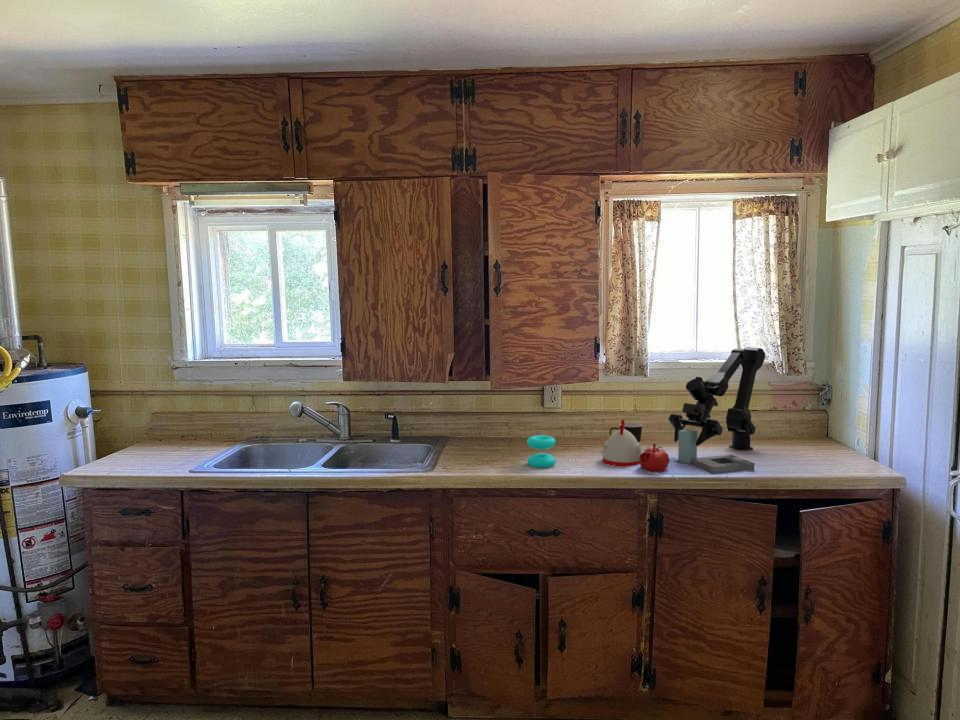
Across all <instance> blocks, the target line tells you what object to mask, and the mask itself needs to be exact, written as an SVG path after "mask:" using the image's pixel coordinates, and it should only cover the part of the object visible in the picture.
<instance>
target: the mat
mask: <svg viewBox="0 0 960 720" xmlns="http://www.w3.org/2000/svg"><path fill="white" fill-rule="evenodd" d="M673 462H675V463H678V464H679V463H680V464H685V465H689V466H693V465H692V463H690V464H689V463H684V462H679V461H678V459H676V460H673Z"/></svg>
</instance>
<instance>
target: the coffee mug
mask: <svg viewBox="0 0 960 720" xmlns="http://www.w3.org/2000/svg"><path fill="white" fill-rule="evenodd" d="M619 429H621V423H619V426H618V427H611V428H610V429H609V435H610V436H611V435H612V434H613V433H612V430H616V431H617V430H619ZM625 430H627V431H629V432H630V433H631V434H632V435H633V436H634V437H635V438H636V440H637V442H638V443H639V442H640V443H641V441H642V440H641V439H642V434H643V433H642V431H643V424H641V423H638V422H625Z"/></svg>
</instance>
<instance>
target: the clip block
mask: <svg viewBox="0 0 960 720" xmlns="http://www.w3.org/2000/svg"><path fill="white" fill-rule="evenodd" d="M683 429H684V430H680V431H679V439H678V445H677V446H678V451H677V452H678V455H677V456H678V457H677V460H678V461H679V462H684V463H689V464H690V463H692V458H698V457H697V456H698V452H697V451H698V446H696V442H697V439H698V430H695V429H688V428H683Z"/></svg>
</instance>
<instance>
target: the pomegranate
mask: <svg viewBox="0 0 960 720" xmlns="http://www.w3.org/2000/svg"><path fill="white" fill-rule="evenodd" d="M656 446H657V443H653V444H652V448H651V447H650V446H647V448H645V449H644V450H643V451H642V454H641V455H640V456H639V461H640V464H639V465H640V467H641V468H642V470H644V471H645V472H650V473H655V472H659V473H661V472H662V473H663V472H665V470H666V469H667V468H668V467H669V463H670V458H669V457H670V456H669V454H668V453H667V452H666V451H667V450H665V449H664V448H663V447H662V446H658V447H656ZM660 448H661V449H660Z"/></svg>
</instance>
